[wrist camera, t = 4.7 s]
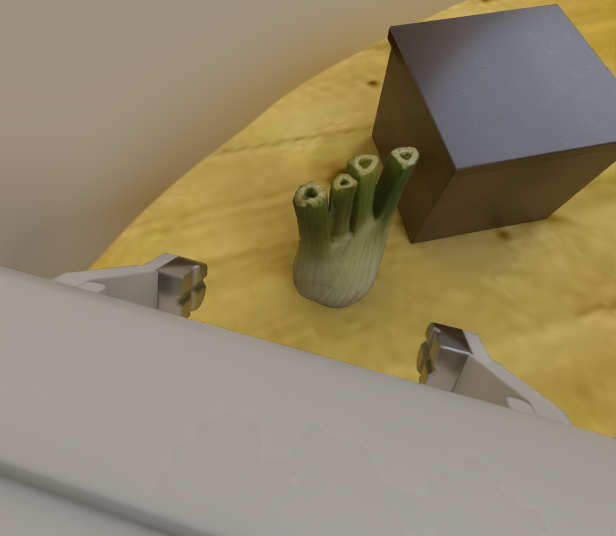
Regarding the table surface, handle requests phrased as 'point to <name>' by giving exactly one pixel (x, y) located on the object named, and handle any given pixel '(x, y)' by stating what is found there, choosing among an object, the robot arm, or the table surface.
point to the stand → (494, 118)
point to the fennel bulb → (348, 227)
